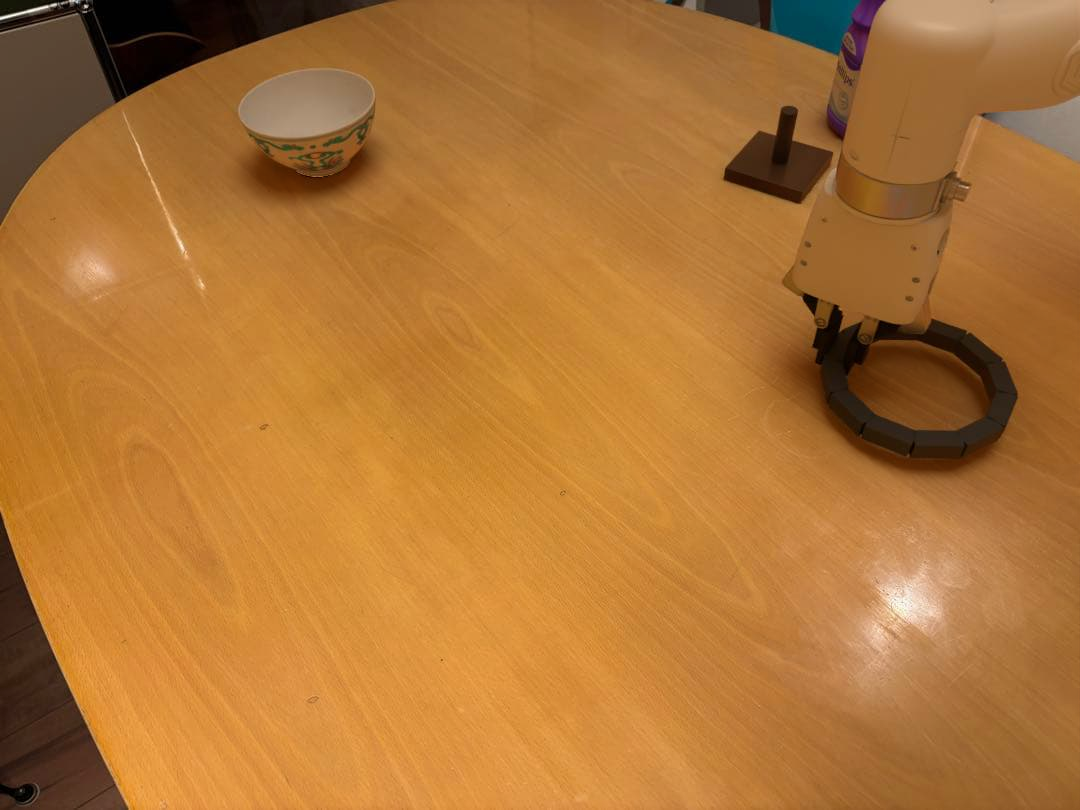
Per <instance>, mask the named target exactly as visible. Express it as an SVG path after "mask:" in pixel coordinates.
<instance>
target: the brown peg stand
mask: <svg viewBox="0 0 1080 810" xmlns="http://www.w3.org/2000/svg"><path fill="white" fill-rule="evenodd" d="M798 114H799V109H798V108H797V107H796V106H793V105H783V106H782V107H781V108H780V111H779V118H778V122H777V126H776V127H777V128H776V133H775V134H772V133H768V132H766V131H762V130H758V131H757V132H756V133H755V134H754V135H753V136H752V137H751V138H750V140H749V141H748V142H747V143H746V144H745V145H744V147H742V148H741V149H740V151H739V152H738V153H737V154H736V155H735V156H734V158H732V160H731V161H730V162H729V163H728V164H727V165H726V166H725V167H724V174H723V180H724V181H728V182H730V183H734V184H737V185H740V186H744V187H747V188H750V189H753V190H756V191H759V192H763V193H766V194H768V195H772V196H775V197H778V198H782V199H785V200H788V201H790V202H794V203H797V204H801V203H802V201H803V200H804V199H805V198H806V197H807V195H808V194H809V192H810V191H811V190H812V189H813V187H814V186H815V184H816V183H817V182H818V181H819V179H820V178H821V177H822V176H823V174H824V173H825V172H826V170H827V169H828V168H829V167H830V165H831V164H832V160H833V156H834V151H831V150H828V149H825V148H821V147H818V146H814V145H811V144H807V143H804V142H801V141H796V140H793V139H794V134H795V129H796V124H797V120H798Z"/></svg>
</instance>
